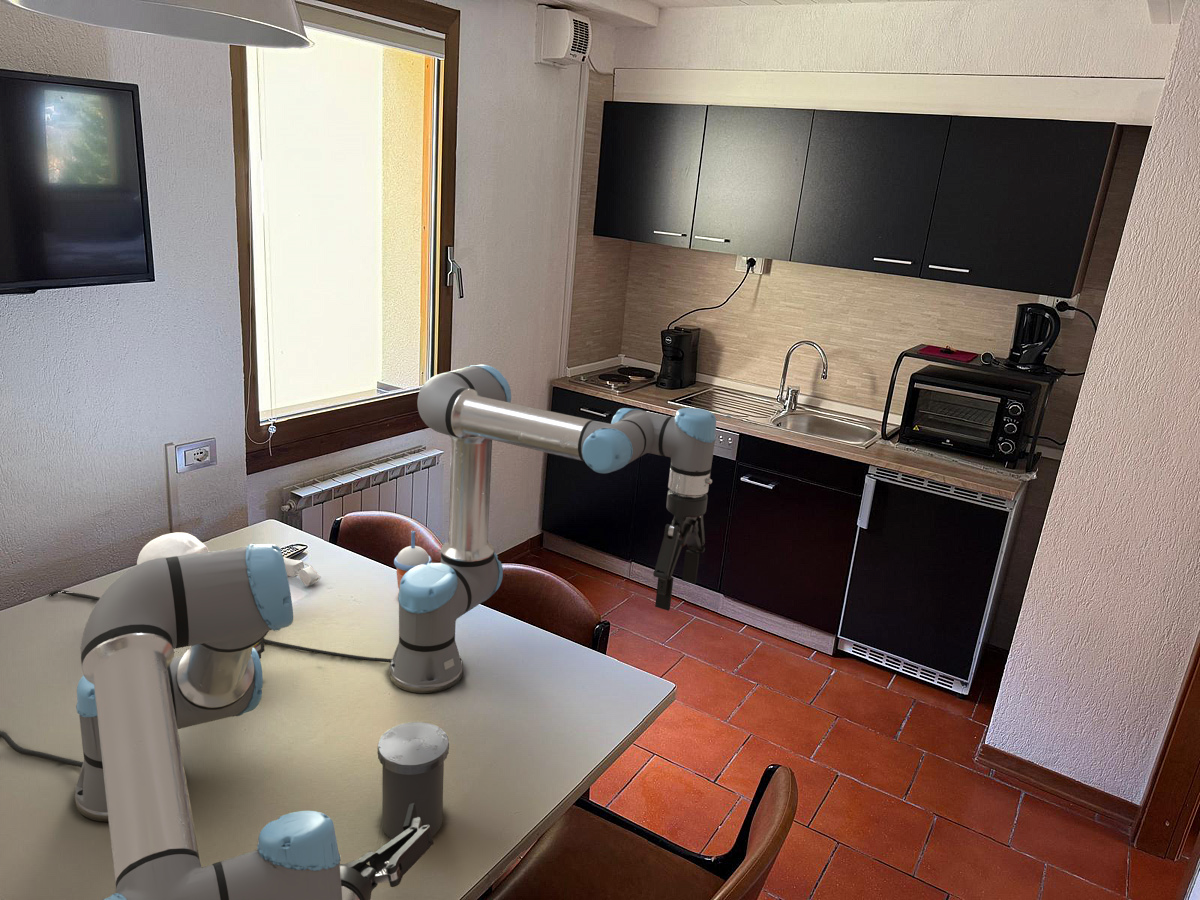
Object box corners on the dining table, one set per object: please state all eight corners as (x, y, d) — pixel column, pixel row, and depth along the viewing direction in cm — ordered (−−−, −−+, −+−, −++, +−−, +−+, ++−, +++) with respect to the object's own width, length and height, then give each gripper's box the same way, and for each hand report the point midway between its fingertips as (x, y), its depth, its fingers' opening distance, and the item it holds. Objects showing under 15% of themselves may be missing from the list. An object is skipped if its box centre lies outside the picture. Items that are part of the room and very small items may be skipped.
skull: (202, 618, 196) (199, 554, 192) (125, 599, 202) (121, 536, 198) (241, 595, 209) (240, 535, 205) (167, 578, 215) (164, 519, 210)
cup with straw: (422, 608, 209) (423, 541, 204) (387, 602, 210) (387, 535, 205) (436, 592, 217) (437, 527, 212) (403, 587, 219) (403, 522, 214)
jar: (378, 844, 135) (378, 764, 131) (386, 802, 145) (386, 726, 140) (440, 843, 137) (442, 764, 132) (444, 801, 146) (446, 726, 141)
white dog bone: (253, 565, 223) (254, 542, 221) (265, 560, 226) (266, 537, 224) (309, 593, 215) (310, 569, 213) (320, 588, 218) (321, 564, 216)
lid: (373, 775, 131) (373, 765, 130) (382, 730, 141) (382, 721, 141) (446, 774, 132) (447, 765, 132) (450, 730, 143) (450, 721, 142)
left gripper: (230, 970, 98) (281, 870, 119) (446, 917, 100) (459, 828, 121) (215, 909, 97) (270, 819, 118) (432, 856, 99) (448, 777, 120)
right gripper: (681, 516, 147) (669, 626, 153) (728, 478, 168) (716, 576, 174) (642, 506, 150) (631, 614, 156) (693, 470, 171) (682, 566, 178)
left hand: (365, 823), depth 119 cm, fingers open, 13 cm apart
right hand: (676, 594), depth 165 cm, fingers open, 13 cm apart
